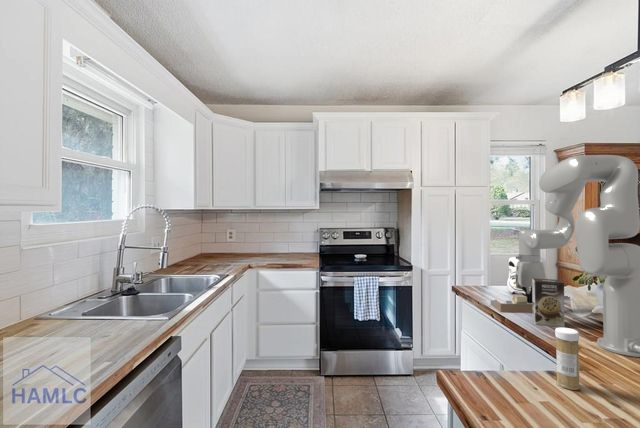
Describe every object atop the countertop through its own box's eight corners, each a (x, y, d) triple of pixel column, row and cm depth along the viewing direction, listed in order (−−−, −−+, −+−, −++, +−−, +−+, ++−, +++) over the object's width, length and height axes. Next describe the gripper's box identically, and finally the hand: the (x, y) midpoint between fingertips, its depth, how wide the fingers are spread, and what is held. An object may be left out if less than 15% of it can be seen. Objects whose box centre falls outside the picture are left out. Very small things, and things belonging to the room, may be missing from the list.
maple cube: (527, 306, 137) (527, 297, 137) (516, 306, 138) (516, 296, 138) (522, 304, 141) (522, 294, 141) (512, 303, 142) (512, 294, 142)
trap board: (539, 312, 135) (539, 304, 135) (500, 312, 137) (500, 303, 137) (526, 305, 146) (526, 297, 146) (490, 304, 148) (490, 297, 148)
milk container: (510, 298, 158) (510, 260, 157) (504, 290, 174) (503, 256, 174) (553, 301, 152) (553, 262, 151) (543, 292, 168) (542, 257, 168)
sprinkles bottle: (582, 386, 79) (581, 330, 79) (575, 393, 76) (574, 334, 76) (560, 379, 83) (559, 325, 83) (553, 384, 80) (552, 329, 80)
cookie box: (535, 324, 122) (534, 280, 121) (532, 319, 127) (531, 277, 127) (565, 327, 118) (564, 282, 118) (560, 322, 124) (560, 279, 124)
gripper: (514, 260, 136) (515, 304, 136) (554, 260, 134) (554, 305, 134) (506, 257, 144) (507, 299, 144) (544, 257, 141) (544, 300, 142)
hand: (530, 302), depth 139 cm, fingers closed
